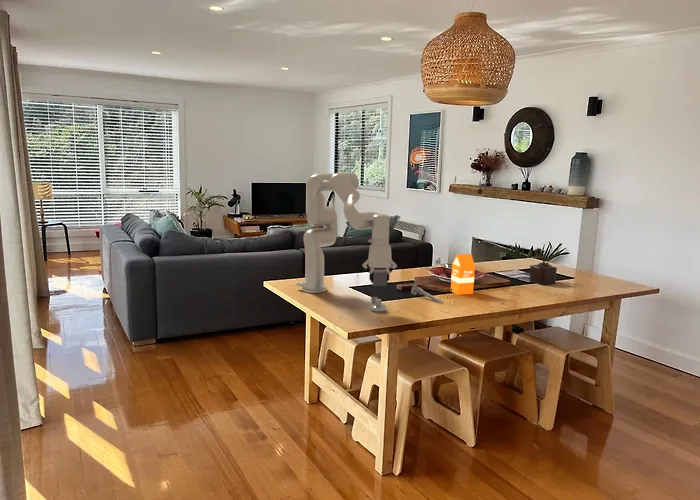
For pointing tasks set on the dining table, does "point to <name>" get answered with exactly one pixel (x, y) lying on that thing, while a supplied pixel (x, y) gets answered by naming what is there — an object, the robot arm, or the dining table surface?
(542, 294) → the dining table surface
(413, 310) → the dining table surface
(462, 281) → the orange juice
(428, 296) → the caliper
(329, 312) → the dining table surface
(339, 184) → the robot arm
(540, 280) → the brown coffee grinder
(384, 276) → the grey stone cube
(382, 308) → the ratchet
